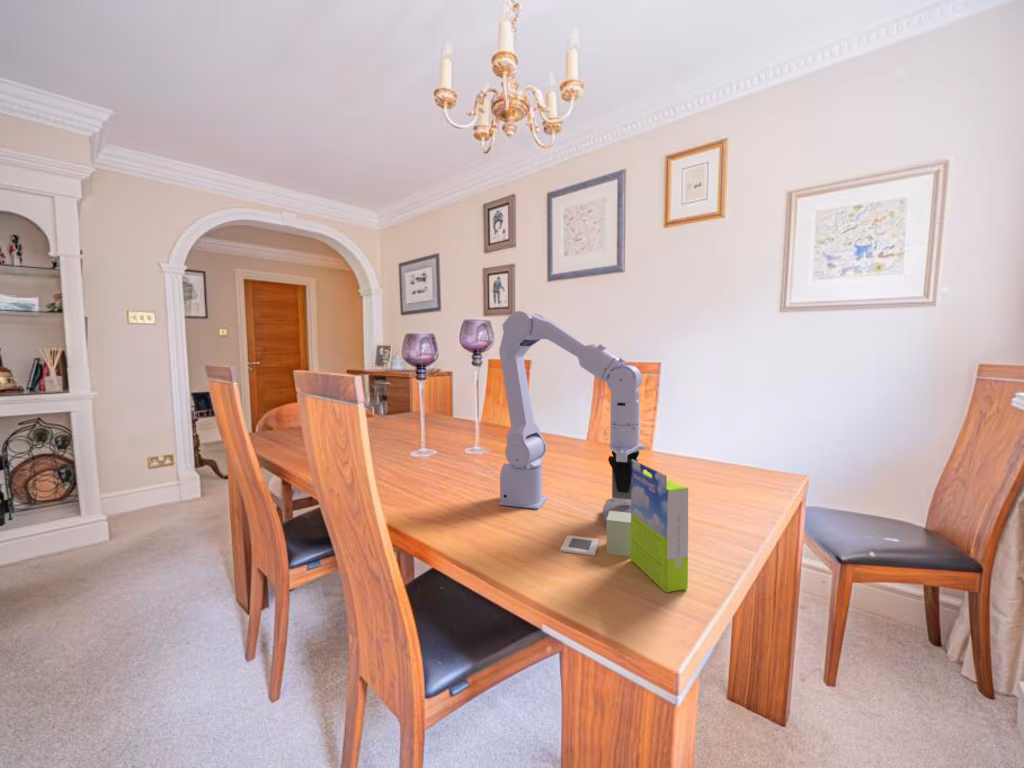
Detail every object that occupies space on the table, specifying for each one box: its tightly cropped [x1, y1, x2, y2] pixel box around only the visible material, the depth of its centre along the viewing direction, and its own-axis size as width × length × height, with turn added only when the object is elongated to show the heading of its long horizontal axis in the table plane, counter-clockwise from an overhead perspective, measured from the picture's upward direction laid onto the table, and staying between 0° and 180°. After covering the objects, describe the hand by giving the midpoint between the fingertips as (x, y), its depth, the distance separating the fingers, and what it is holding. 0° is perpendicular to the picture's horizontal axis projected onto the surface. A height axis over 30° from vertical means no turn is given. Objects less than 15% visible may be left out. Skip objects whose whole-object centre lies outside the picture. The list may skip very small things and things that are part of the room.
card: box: [559, 534, 600, 557], centre depth 76 cm, size 6×6×1 cm
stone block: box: [601, 497, 631, 524], centre depth 88 cm, size 12×5×10 cm
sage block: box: [605, 511, 631, 557], centre depth 75 cm, size 4×4×6 cm
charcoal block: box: [611, 468, 632, 499], centre depth 88 cm, size 4×4×6 cm
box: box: [629, 459, 689, 593], centre depth 66 cm, size 10×4×17 cm, turn 13°
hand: (624, 488), depth 88 cm, fingers closed on charcoal block, 4 cm apart
